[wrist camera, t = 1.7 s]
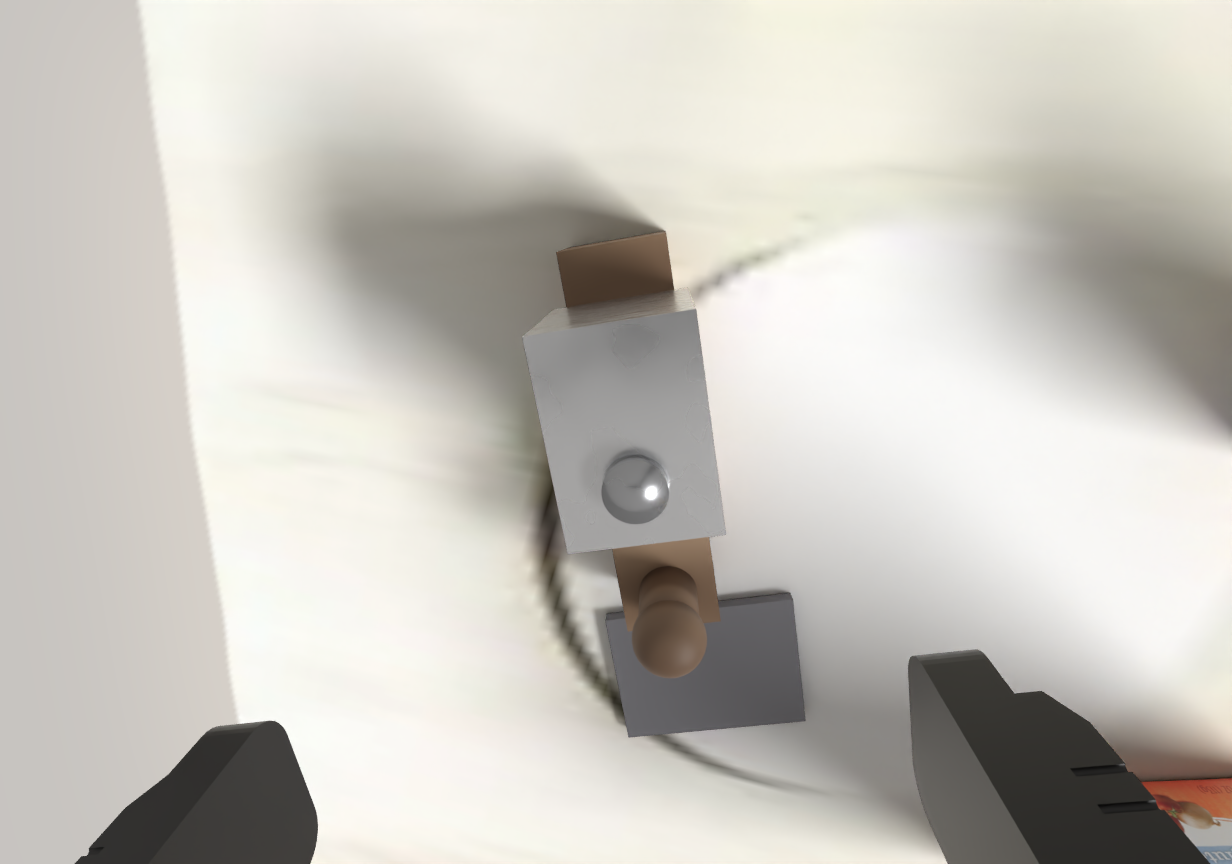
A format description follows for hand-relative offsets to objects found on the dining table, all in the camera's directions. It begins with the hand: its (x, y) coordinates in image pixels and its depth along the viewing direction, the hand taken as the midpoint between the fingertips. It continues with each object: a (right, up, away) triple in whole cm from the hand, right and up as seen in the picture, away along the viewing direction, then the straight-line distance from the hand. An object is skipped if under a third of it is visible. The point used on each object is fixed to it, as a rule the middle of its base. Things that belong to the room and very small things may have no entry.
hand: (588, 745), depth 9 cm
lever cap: (+1, +6, +17) cm, 18 cm away
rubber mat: (+5, -8, +25) cm, 27 cm away
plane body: (+2, +4, +22) cm, 22 cm away
